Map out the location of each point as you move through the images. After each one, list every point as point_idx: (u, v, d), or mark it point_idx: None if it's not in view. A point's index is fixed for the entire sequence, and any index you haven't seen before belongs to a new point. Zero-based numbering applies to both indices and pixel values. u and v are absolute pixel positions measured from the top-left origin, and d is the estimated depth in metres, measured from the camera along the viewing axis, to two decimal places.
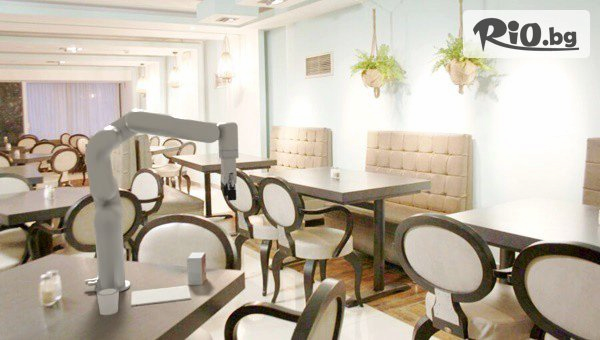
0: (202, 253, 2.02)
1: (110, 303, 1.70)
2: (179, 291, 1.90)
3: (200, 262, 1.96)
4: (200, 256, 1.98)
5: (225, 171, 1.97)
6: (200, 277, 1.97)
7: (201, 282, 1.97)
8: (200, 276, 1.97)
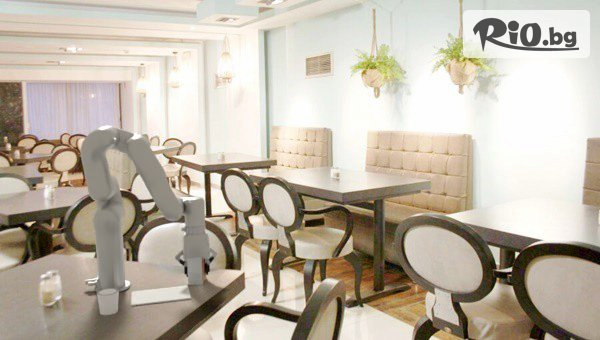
0: None
1: (110, 303, 1.70)
2: (179, 291, 1.90)
3: (200, 262, 1.96)
4: None
5: (209, 245, 1.99)
6: (200, 277, 1.97)
7: (201, 282, 1.97)
8: (200, 276, 1.97)
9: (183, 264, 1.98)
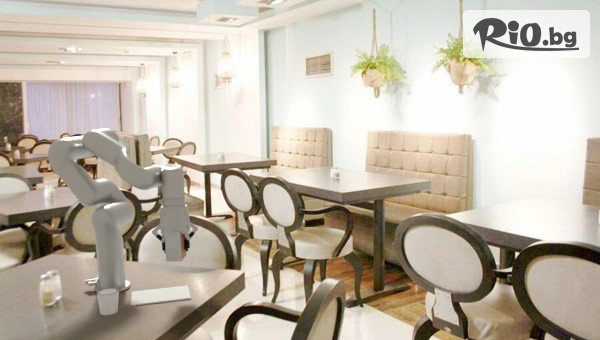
0: None
1: (110, 303, 1.70)
2: (179, 291, 1.90)
3: (179, 237, 1.82)
4: (179, 231, 1.84)
5: (188, 219, 1.84)
6: (179, 253, 1.82)
7: (180, 258, 1.83)
8: (179, 252, 1.82)
9: (161, 239, 1.84)
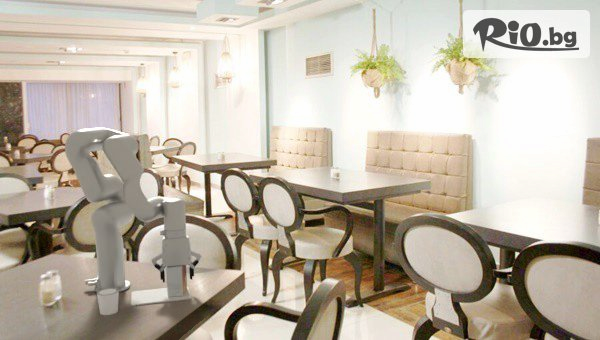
0: None
1: (110, 303, 1.70)
2: None
3: (180, 272, 1.84)
4: None
5: (190, 250, 1.86)
6: (180, 288, 1.84)
7: (182, 293, 1.85)
8: (180, 287, 1.84)
9: (159, 269, 1.85)
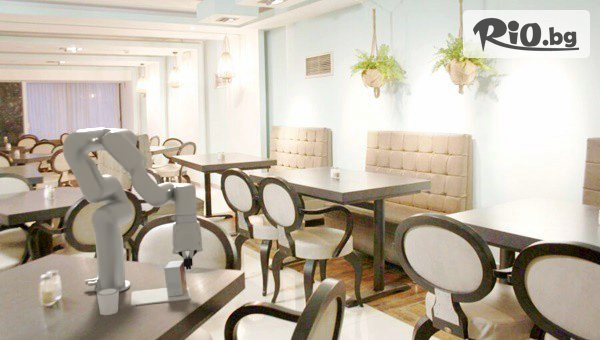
0: (180, 261, 1.89)
1: (110, 303, 1.70)
2: None
3: (179, 271, 1.84)
4: (178, 265, 1.85)
5: (200, 235, 1.86)
6: (180, 287, 1.84)
7: (181, 292, 1.84)
8: (180, 286, 1.84)
9: (182, 256, 1.86)
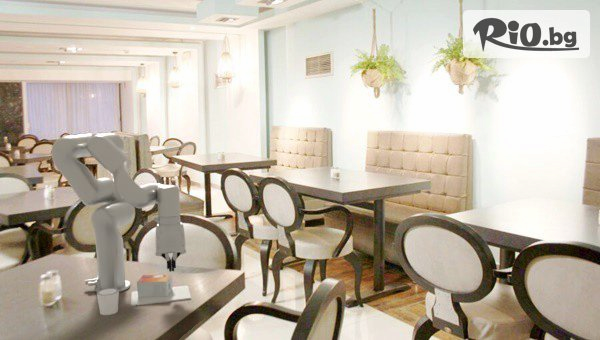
0: None
1: (110, 303, 1.70)
2: (179, 291, 1.90)
3: (141, 283, 1.84)
4: None
5: (184, 237, 1.85)
6: (158, 283, 1.84)
7: (163, 282, 1.84)
8: (157, 283, 1.84)
9: (166, 258, 1.85)
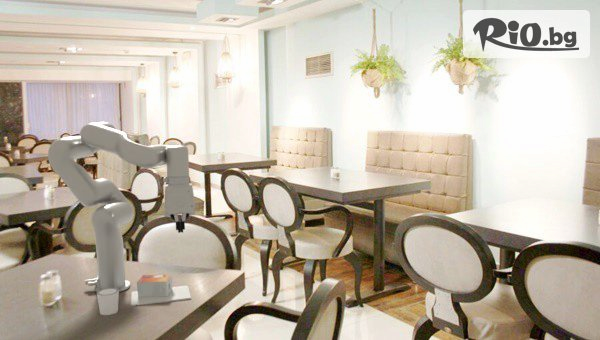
0: None
1: (110, 303, 1.70)
2: (179, 291, 1.90)
3: (141, 283, 1.84)
4: None
5: (193, 197, 1.84)
6: (158, 283, 1.84)
7: (163, 282, 1.84)
8: (157, 283, 1.84)
9: (174, 219, 1.84)
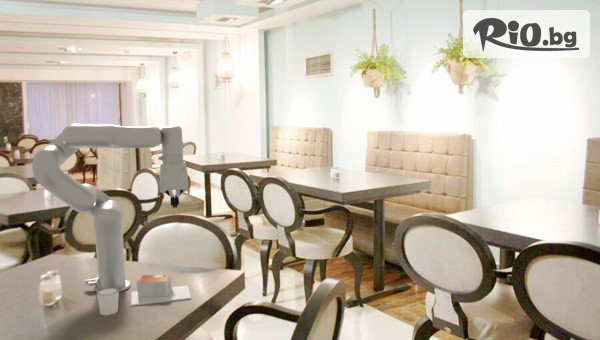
0: None
1: (110, 303, 1.70)
2: (179, 291, 1.90)
3: (141, 283, 1.84)
4: None
5: (186, 174, 1.96)
6: (158, 283, 1.84)
7: (163, 282, 1.84)
8: (157, 283, 1.84)
9: (169, 195, 1.96)
